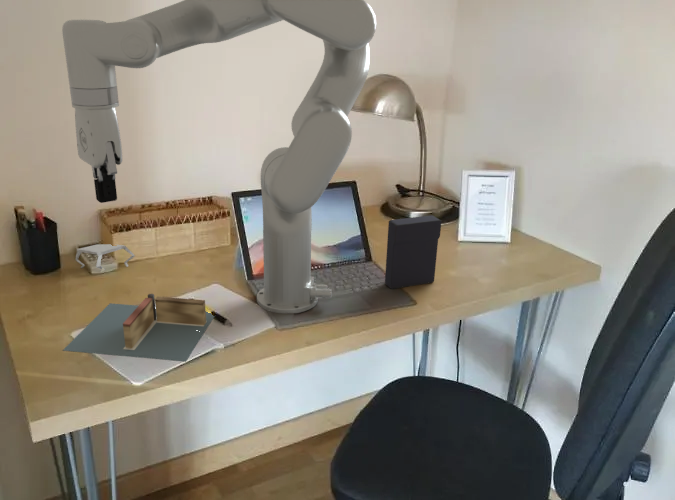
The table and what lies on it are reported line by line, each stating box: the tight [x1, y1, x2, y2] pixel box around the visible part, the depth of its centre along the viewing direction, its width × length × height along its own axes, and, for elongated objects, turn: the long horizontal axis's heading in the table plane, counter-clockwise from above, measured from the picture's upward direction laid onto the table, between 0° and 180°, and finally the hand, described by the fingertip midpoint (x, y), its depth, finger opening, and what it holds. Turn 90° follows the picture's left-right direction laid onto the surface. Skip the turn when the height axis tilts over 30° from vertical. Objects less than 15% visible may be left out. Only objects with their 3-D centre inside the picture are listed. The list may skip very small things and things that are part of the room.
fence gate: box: [123, 297, 154, 348], centre depth 111 cm, size 10×1×5 cm, turn 174°
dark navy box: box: [384, 214, 442, 290], centre depth 134 cm, size 11×4×15 cm, turn 113°
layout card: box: [62, 303, 218, 362], centre depth 114 cm, size 22×18×1 cm
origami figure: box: [75, 243, 136, 270], centre depth 140 cm, size 12×8×5 cm
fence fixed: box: [147, 293, 207, 325], centre depth 116 cm, size 11×1×5 cm, turn 83°
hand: (107, 200), depth 112 cm, fingers closed
